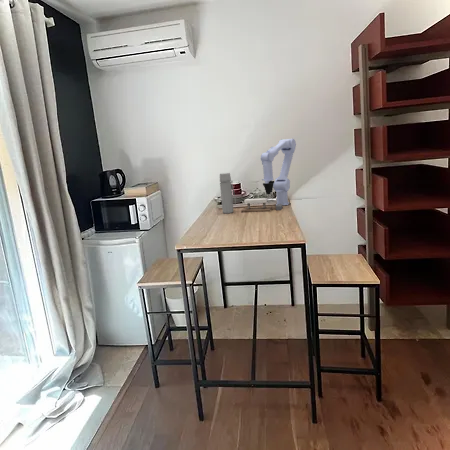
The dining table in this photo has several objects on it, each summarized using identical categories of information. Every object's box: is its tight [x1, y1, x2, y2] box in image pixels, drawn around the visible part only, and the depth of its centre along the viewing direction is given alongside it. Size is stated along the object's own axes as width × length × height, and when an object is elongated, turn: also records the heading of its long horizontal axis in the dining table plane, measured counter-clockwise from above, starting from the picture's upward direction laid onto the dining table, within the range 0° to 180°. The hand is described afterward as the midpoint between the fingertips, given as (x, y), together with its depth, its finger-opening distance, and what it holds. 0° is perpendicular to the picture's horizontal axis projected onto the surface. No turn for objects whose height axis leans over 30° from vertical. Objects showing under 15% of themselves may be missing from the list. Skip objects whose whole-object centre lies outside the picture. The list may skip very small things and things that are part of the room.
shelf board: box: [244, 197, 269, 204], centre depth 242 cm, size 14×5×2 cm, turn 74°
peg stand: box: [240, 202, 273, 213], centre depth 243 cm, size 10×18×5 cm, turn 74°
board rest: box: [275, 203, 283, 211], centre depth 241 cm, size 8×3×2 cm, turn 164°
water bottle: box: [219, 172, 237, 214], centre depth 242 cm, size 9×8×25 cm
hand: (269, 193), depth 243 cm, fingers open, 7 cm apart
